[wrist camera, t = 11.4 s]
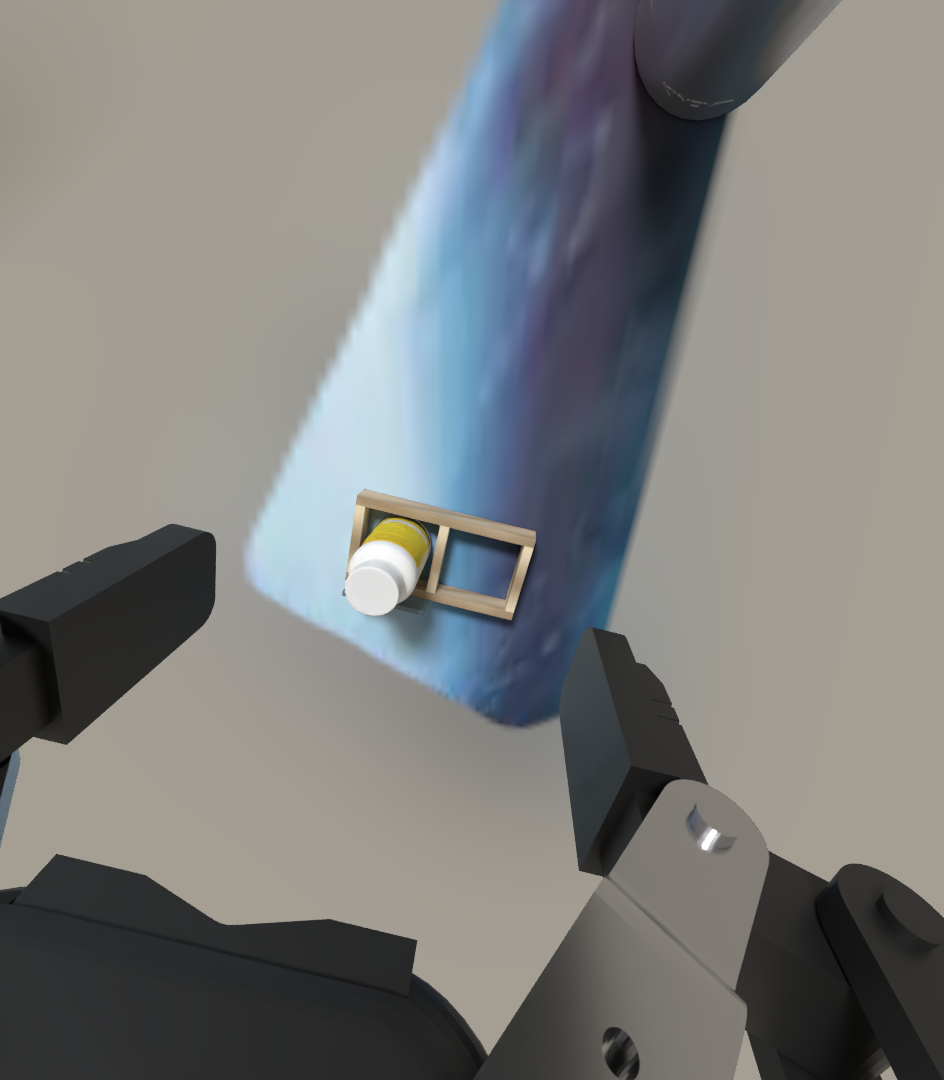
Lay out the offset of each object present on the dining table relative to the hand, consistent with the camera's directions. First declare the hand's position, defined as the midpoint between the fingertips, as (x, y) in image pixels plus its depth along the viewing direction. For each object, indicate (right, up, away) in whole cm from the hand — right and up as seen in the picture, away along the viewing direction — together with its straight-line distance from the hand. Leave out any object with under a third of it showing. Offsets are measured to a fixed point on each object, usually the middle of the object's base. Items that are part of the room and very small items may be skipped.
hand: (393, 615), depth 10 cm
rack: (-1, +1, +32) cm, 32 cm away
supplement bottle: (-5, +2, +33) cm, 33 cm away
